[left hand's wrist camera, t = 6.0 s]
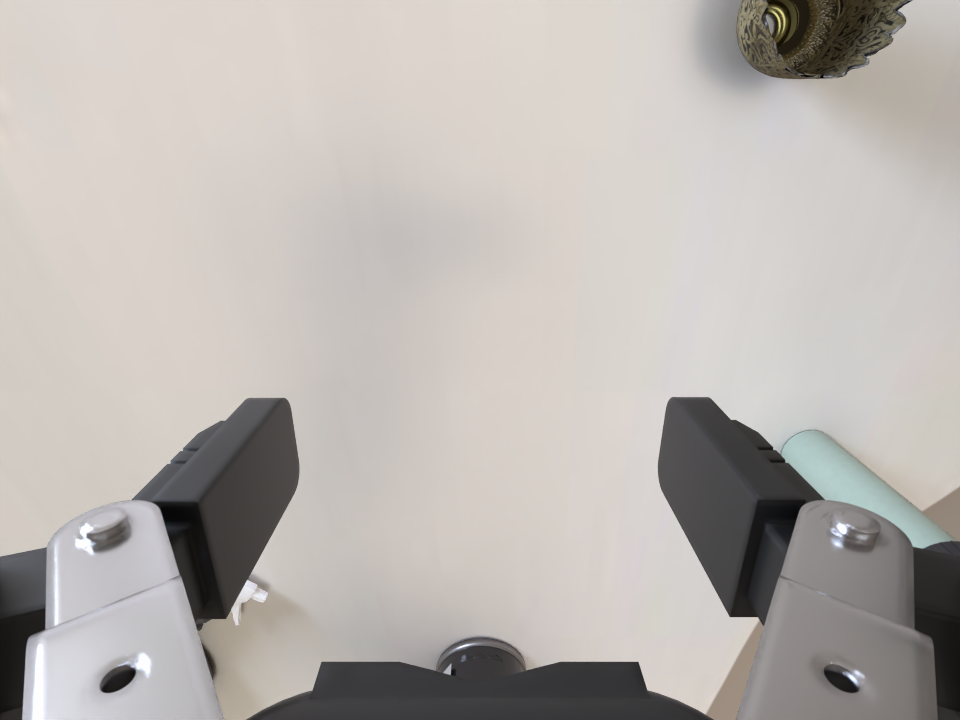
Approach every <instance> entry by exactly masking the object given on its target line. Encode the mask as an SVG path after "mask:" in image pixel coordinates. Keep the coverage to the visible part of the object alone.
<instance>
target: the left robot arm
mask: <svg viewBox="0 0 960 720" xmlns="http://www.w3.org/2000/svg"><path fill="white" fill-rule="evenodd" d="M658 476H659V482H660V486H661V489H662V492H663V494H664V496H665V497H666V499H667V501H668V503H669V505H670V507H671V509H672V510H673V512H674V514H675V516H676V518H677V520H678V522H679V523H680V525H681V527H682V529H683V531H684V533H685V535H686V536H687V538H688V540H689V542H690V544H691V546H692V547H693V549H694V551H695V553H696V555H697V557H698V559H699V560H700V562H701V564H702V566H703V568H704V570H705V572H706V573H707V575H708V577H709V579H710V581H711V583H712V585H713V586H714V588H715V590H716V592H717V594H718V596H719V598H720V599H721V601H722V603H723V605H724V607H725V609H726V611H727V612H728V614H729V616H730V617H758V618H759V620H760V621H761V623H762V625H763V626H764V628H763V631H762V634H761V638H760V641H759V644H758V648H757V651H756V654H755V658H754V661H753V664H752V667H751V671H750V674H749V677H748V681H747V684H746V687H745V691H744V694H743V697H742V701H741V704H740V707H739V711H738V714H737V717H736V720H960V556H957V555H952V554H947V553H942V552H937V551H932V550H927V549H922V548H917V547H913V546H912V543H911V541H910V539H909V538H908V537H907V535H906V534H905V533H904V532H903V531H902V530H901V529H900V528H899V527H897V526H896V525H895V524H893V523H892V522H890V521H889V520H887V519H886V518H884V517H882V516H880V515H878V514H876V513H874V512H872V511H870V510H867V509H865V508H862V507H859V506H856V505H853V504H849V503H845V502H840V501H832V500H825V499H824V498H823V497H822V496H821V495H820V494H819V493H818V492H817V491H816V490H815V489H814V488H813V487H812V486H811V485H810V484H809V483H808V482H807V481H806V480H805V479H804V478H803V477H802V476H801V475H800V474H799V473H798V472H797V471H796V470H795V469H794V468H793V467H792V466H791V465H790V464H789V463H786V462H785V459H784V458H783V457H782V456H781V455H780V454H779V453H778V452H777V451H776V450H773V447H772V446H771V445H770V444H769V443H768V442H767V441H766V440H765V439H764V438H763V437H762V436H761V435H760V434H759V433H758V432H756V431H755V430H753V429H751V428H749V427H747V426H746V425H744V424H742V423H740V422H738V421H737V420H730V418H729V417H728V416H727V415H726V414H725V413H724V412H723V411H722V410H721V409H720V408H719V407H718V406H717V405H716V404H715V403H714V401H713V400H712V399H710V398H709V397H672V398H671V399H670V400H669V401H668V404H667V407H666V412H665V419H664V426H663V433H662V439H661V446H660V453H659V460H658ZM298 479H299V459H298V452H297V446H296V439H295V432H294V425H293V419H292V412H291V407H290V404H289V402H288V400H287V399H285V398H248V399H246V400H245V401H244V402H243V403H242V404H241V405H240V406H239V407H238V408H237V409H236V410H235V412H234V413H233V414H232V415H231V416H230V417H229V418H228V419H227V420H226V421H220V422H218V423H216V424H215V425H213V426H211V427H209V428H207V429H206V430H204V431H202V432H200V433H198V434H197V435H196V436H195V437H194V438H193V439H192V440H191V441H190V442H189V443H188V444H187V445H186V446H185V447H184V448H183V451H180V452H179V453H178V454H177V455H176V456H175V457H174V458H173V459H172V460H171V464H167V465H166V466H165V467H164V468H163V469H162V470H161V471H160V472H159V473H158V474H157V475H156V476H155V477H154V478H153V479H152V480H151V481H150V482H149V483H148V484H147V485H146V486H145V487H144V488H143V489H142V490H141V491H140V492H139V493H138V494H137V495H136V496H135V497H134V498H133V499H132V500H128V501H120V502H115V503H111V504H107V505H104V506H101V507H98V508H95V509H93V510H90V511H88V512H86V513H84V514H82V515H80V516H78V517H76V518H74V519H73V520H71V521H70V522H68V523H67V524H65V525H64V526H63V527H61V528H60V529H59V530H58V531H57V532H56V533H55V534H54V535H53V537H52V538H51V539H50V541H49V543H48V546H47V547H46V548H42V549H37V550H32V551H27V552H22V553H17V554H12V555H7V556H2V557H0V720H224V717H223V714H222V711H221V707H220V704H219V701H218V697H217V694H216V691H215V687H214V684H213V681H212V677H211V674H210V671H209V667H208V664H207V661H206V658H205V654H204V651H203V648H202V644H201V641H200V638H199V634H198V631H197V628H196V624H195V622H196V621H197V619H226V618H227V616H228V614H229V612H230V611H231V609H232V607H233V605H234V603H235V601H236V600H237V598H238V596H239V594H240V592H241V590H242V589H243V587H244V585H245V583H246V581H247V579H248V578H249V576H250V574H251V572H252V570H253V568H254V567H255V565H256V563H257V561H258V559H259V557H260V556H261V554H262V552H263V550H264V548H265V546H266V545H267V543H268V541H269V539H270V537H271V535H272V534H273V532H274V530H275V528H276V526H277V524H278V523H279V521H280V519H281V517H282V515H283V513H284V512H285V510H286V508H287V506H288V504H289V502H290V501H291V499H292V497H293V495H294V493H295V491H296V488H297V485H298ZM247 720H713V719H712V718H710V717H708V716H707V715H705V714H703V713H702V712H700V711H698V710H696V709H694V708H692V707H690V706H688V705H686V704H684V703H682V702H680V701H678V700H675V699H672V698H669V697H667V696H664V695H661V694H658V693H655V692H651V691H647V688H646V685H645V682H644V678H643V675H642V672H641V669H640V666H639V662H558V663H554V664H550V665H547V666H543V667H539V668H535V669H531V670H527V671H526V666H525V662H524V660H523V658H522V656H521V655H520V654H519V653H518V652H517V651H516V650H515V649H514V648H512V647H511V646H509V645H507V644H505V643H503V642H500V641H497V640H492V639H471V640H466V641H463V642H460V643H457V644H455V645H453V646H452V647H450V648H449V649H448V650H446V651H445V652H444V653H443V655H442V656H441V657H440V659H439V661H438V664H437V670H436V671H433V670H429V669H425V668H421V667H417V666H413V665H410V664H406V663H402V662H321V666H320V669H319V672H318V675H317V678H316V682H315V685H314V688H313V691H309V692H305V693H302V694H299V695H296V696H293V697H291V698H288V699H285V700H282V701H280V702H278V703H276V704H274V705H272V706H270V707H268V708H266V709H264V710H262V711H260V712H258V713H257V714H255V715H253V716H252V717H250V718H248V719H247Z"/></svg>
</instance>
